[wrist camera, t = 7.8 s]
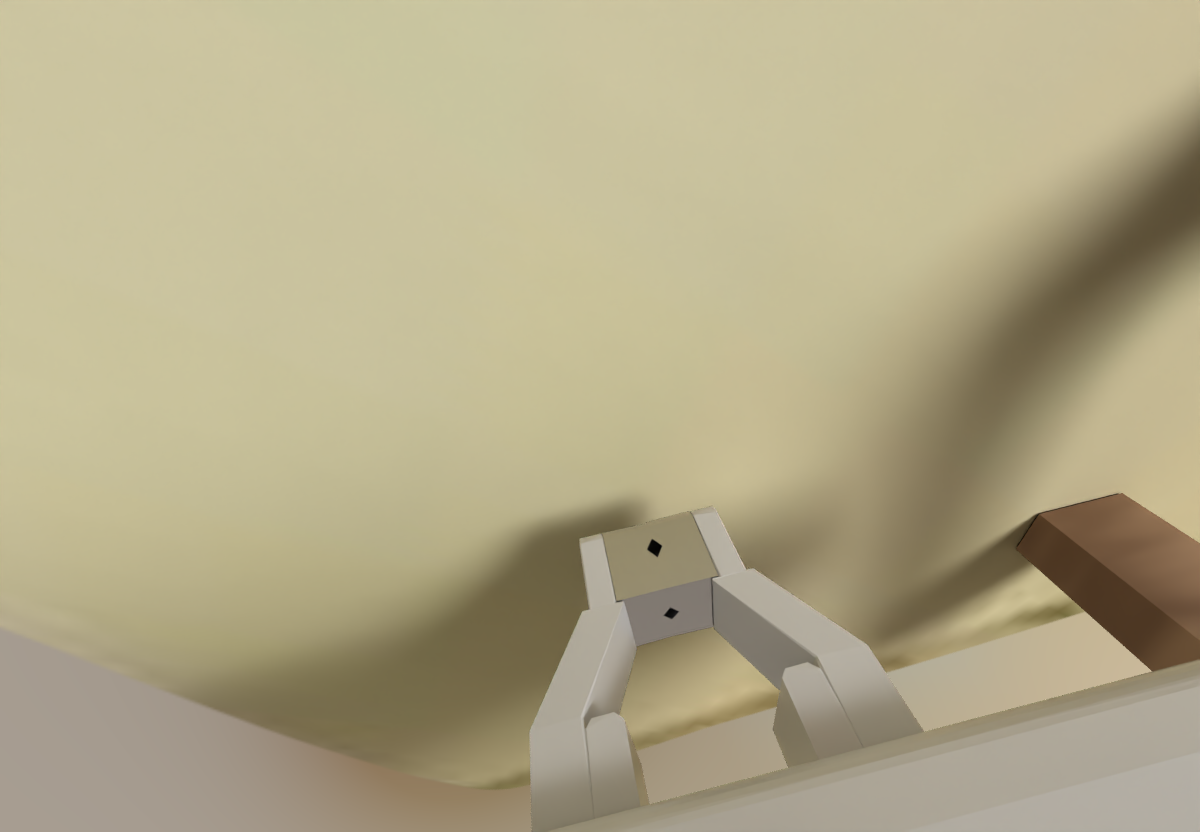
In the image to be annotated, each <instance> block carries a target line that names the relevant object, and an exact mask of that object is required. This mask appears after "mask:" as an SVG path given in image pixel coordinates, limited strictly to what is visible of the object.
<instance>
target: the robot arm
mask: <svg viewBox="0 0 1200 832" xmlns="http://www.w3.org/2000/svg"><path fill="white" fill-rule="evenodd" d="M579 546H580V553H581V560H582V567H583V573H584V580H585V587H586V594H587V600H588V607H589V609H588V610H585V611H582V612H581V615H580V617H579V619H578V622H577V624H576V626H575V628H574V631H573V633H572V635H571V638H570V640H569V642H568V644H567V647H566V649H565V651H564V654H563V656H562V658H561V660H560V663H559V665H558V667H557V670H556V672H555V674H554V676H553V679H552V681H551V683H550V686H549V688H548V690H547V692H546V695H545V697H544V699H543V702H542V704H541V706H540V708H539V711H538V713H537V715H536V718H535V720H534V722H533V724H532V727H531V729H530V777H531V820H532V821H531V823H532V832H1200V659H1198V660H1194V661H1190V662H1187V663H1183V664H1179V665H1175V666H1171V667H1168V668H1164V669H1160V670H1156V671H1152V672H1149V673H1145V674H1141V675H1138V676H1134V677H1130V678H1126V679H1122V680H1118V681H1115V682H1111V683H1107V684H1103V685H1100V686H1096V687H1092V688H1088V689H1084V690H1081V691H1077V692H1073V693H1070V694H1066V695H1062V696H1058V697H1054V698H1050V699H1047V700H1043V701H1039V702H1035V703H1031V704H1027V705H1024V706H1020V707H1016V708H1012V709H1009V710H1005V711H1001V712H997V713H993V714H990V715H986V716H982V717H978V718H974V719H971V720H967V721H963V722H960V723H956V724H952V725H948V726H944V727H940V728H937V729H933V730H929V731H925V732H924V731H923V729H922V728H921V726H920V724H919V723H918V722H917V720H916V718H915V717H914V716H913V714H912V712H911V711H910V709H909V708H908V706H907V704H906V703H905V701H904V700H903V698H902V697H901V695H900V694H899V692H898V691H897V689H896V688H895V686H894V685H893V683H892V682H891V680H890V678H889V677H888V675H887V674H886V672H885V671H884V669H883V668H882V666H881V664H880V663H879V661H878V660H877V658H876V657H875V655H874V654H873V652H872V651H871V649H870V648H869V646H868V645H867V644H866V643H864V642H863V641H861V640H860V639H858V638H857V637H855V636H854V635H852V634H851V633H849V632H848V631H846V630H845V629H843V628H842V627H840V626H839V625H837V624H836V623H834V622H833V621H831V620H830V619H828V618H827V617H825V616H824V615H822V614H821V613H819V612H818V611H816V610H815V609H813V608H812V607H810V606H809V605H807V604H806V603H804V602H803V601H801V600H800V599H798V598H797V597H795V596H794V595H792V594H791V593H789V592H788V591H786V590H785V589H783V588H782V587H781V586H779V585H778V584H776V583H775V582H773V581H772V580H770V579H769V578H767V577H766V576H764V575H763V574H761V573H760V572H758V571H757V570H755V569H754V568H752V569H747V570H746V568H745V566H744V564H743V562H742V560H741V558H740V556H739V554H738V552H737V550H736V548H735V546H734V544H733V542H732V540H731V538H730V536H729V534H728V532H727V530H726V528H725V526H724V524H723V522H722V520H721V518H720V516H719V514H718V512H717V510H716V509H715V508H714V507H713V506H709V507H705V508H701V509H698V510H694V511H690V512H689V511H687V512H683V513H680V514H676V515H672V516H668V517H664V518H661V519H657V520H653V521H649V522H646V524H641V525H636V526H632V527H627V528H623V529H618V530H614V531H609V532H605V533H603V534H602V533H600V534H596V535H592V536H588V537H584V538H580V543H579ZM710 627H714V629H715V630H716V631H717V632H718V633H719V634H720V635H721V636H722V637H723V638H724V639H725V640H726V641H728V642H729V643H730V644H731V645H732V646H733V647H734V648H735V649H736V650H737V651H738V652H739V653H740V654H741V655H742V656H744V657H745V658H746V659H747V660H748V661H749V662H750V663H751V664H752V665H753V666H754V667H755V668H756V669H757V670H758V671H759V672H761V673H762V674H763V675H764V676H765V677H766V678H767V679H768V680H769V681H770V682H771V683H772V684H773V685H774V686H775V687H776V688H778V689H779V690H780V693H779V698H778V703H777V709H776V714H775V720H774V726H773V731H774V734H775V736H776V738H777V741H778V743H779V746H780V748H781V750H782V753H783V756H784V758H785V761H786V763H787V766H788V768H785V769H781V770H778V771H774V772H770V773H766V774H762V775H759V776H755V777H752V778H747V779H743V780H740V781H736V782H732V783H728V784H724V785H721V786H717V787H713V788H710V789H706V790H702V791H698V792H694V793H690V794H687V795H683V796H679V797H675V798H672V799H668V800H664V801H660V802H657V803H653V804H649V799H648V794H647V789H646V785H645V780H644V775H643V770H642V765H641V762H640V759H639V757H638V754H637V751H636V749H635V746H634V744H633V741H632V738H631V736H630V733H629V730H628V728H627V725H626V722H625V720H624V718H623V717H621V716H620V715H619V713H620V710H621V706H622V702H623V698H624V695H625V691H626V687H627V684H628V680H629V676H630V673H631V669H632V665H633V662H634V658H635V654H636V651H637V648H636V646H639V645H643V644H646V643H650V642H653V641H657V640H660V639H664V638H667V637H671V636H674V635H679V634H683V633H688V632H692V631H697V630H701V629H706V628H710Z"/></svg>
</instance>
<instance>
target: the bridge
mask: <svg viewBox="0 0 1200 832" xmlns="http://www.w3.org/2000/svg"><path fill="white" fill-rule="evenodd" d="M1016 550H1017V551H1018V552H1020V553H1021V554H1022V555H1023V556H1024V557H1025V558H1026V559H1027V560H1028V561H1030V562H1031V563H1032V564H1033V565H1034V566H1035V567H1036V568H1037V569H1039V570H1040V571H1041V572H1042V573H1043V574H1044V575H1045V576H1046V577H1047V578H1049V579H1050V580H1051V581H1052V582H1053V583H1054V584H1055V585H1056V586H1058V587H1059V588H1060V589H1061V590H1062V591H1063V592H1064V593H1065V594H1066V595H1068V596H1069V597H1070V598H1071V599H1072V600H1073V601H1074V602H1075V603H1077V604H1078V605H1079V606H1080V607H1081V608H1082V609H1083V610H1084V611H1085V612H1087V613H1088V614H1089V615H1090V616H1091V617H1092V618H1093V619H1094V620H1096V621H1097V622H1098V623H1099V624H1100V625H1101V626H1102V627H1103V628H1105V629H1106V630H1107V631H1108V632H1109V633H1110V634H1111V635H1113V637H1115V638H1116V639H1117V640H1118V641H1119V642H1120V643H1121V644H1123V646H1125V647H1126V648H1127V649H1128V650H1129V651H1130V652H1131V653H1132V654H1134V655H1135V656H1136V657H1137V658H1138V659H1139V660H1140V661H1141V662H1142V663H1144V664H1145V665H1146V666H1147V667H1148V668H1149V669H1150V670H1151V671H1156V670H1160V669H1164V668H1168V667H1171V666H1175V665H1179V664H1183V663H1187V662H1190V661H1194V660H1198V659H1200V543H1198V542H1197V541H1195V540H1194V539H1192V538H1191V537H1189V536H1188V535H1186V534H1185V533H1183V532H1181V531H1180V530H1178V529H1177V528H1175V527H1174V526H1172V525H1171V524H1169V523H1168V522H1166V521H1164V520H1163V519H1161V518H1160V517H1158V516H1157V515H1155V514H1154V513H1152V512H1151V511H1149V510H1147V509H1146V508H1144V507H1143V506H1141V505H1140V504H1138V503H1137V502H1135V501H1134V500H1132V499H1130V498H1129V497H1127V496H1126V495H1124V494H1123V493H1121V494H1117V495H1113V496H1109V497H1105V498H1101V499H1097V500H1093V501H1089V502H1085V503H1081V504H1077V505H1073V506H1069V507H1065V508H1061V509H1057V510H1053V511H1049V512H1045V513H1041V514H1039V515H1038V517H1037V518H1036V520H1035V521H1034V523H1033V524H1032V526H1031V527H1030V529H1029V530H1028V532H1027V533H1026V535H1025V536H1024V538H1023V539H1022V541H1021V542H1020V544H1019V545H1018V547H1017V548H1016Z"/></svg>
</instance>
